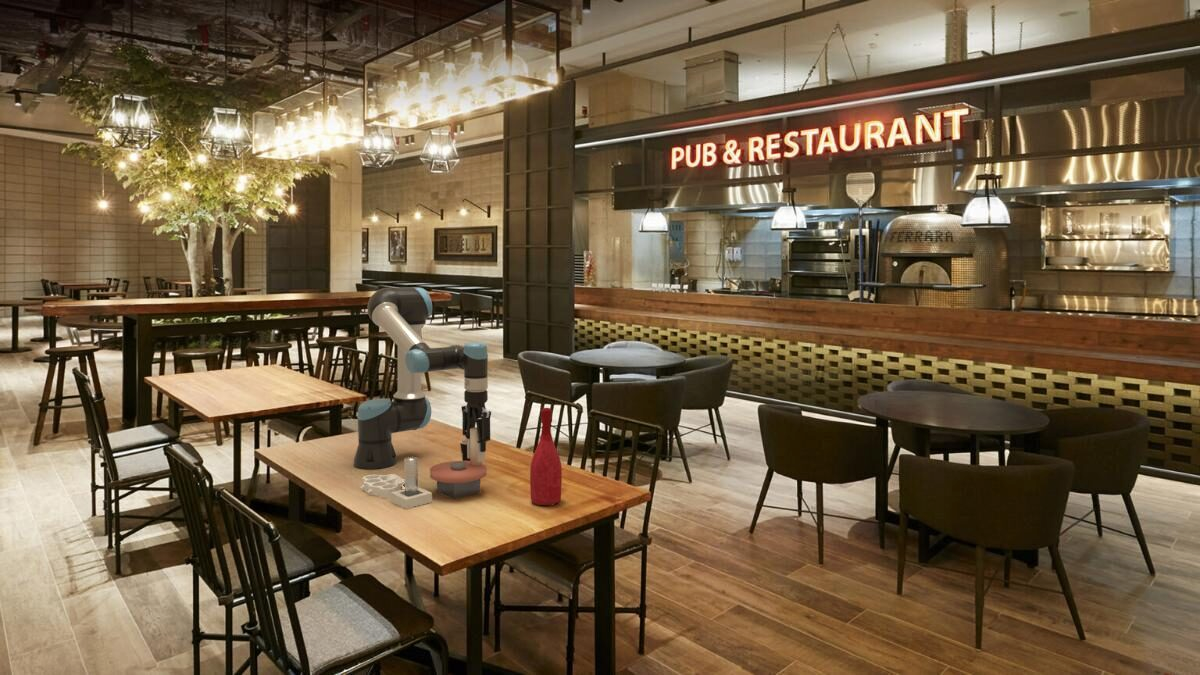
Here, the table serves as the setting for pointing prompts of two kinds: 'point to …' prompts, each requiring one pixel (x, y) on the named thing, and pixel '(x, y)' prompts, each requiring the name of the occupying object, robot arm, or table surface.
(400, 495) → the eye block
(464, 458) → the coffee mug
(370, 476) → the knuckle duster
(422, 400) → the robot arm
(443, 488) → the valve housing
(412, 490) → the steel pin
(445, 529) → the table surface
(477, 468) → the handwheel
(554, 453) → the wine bottle
